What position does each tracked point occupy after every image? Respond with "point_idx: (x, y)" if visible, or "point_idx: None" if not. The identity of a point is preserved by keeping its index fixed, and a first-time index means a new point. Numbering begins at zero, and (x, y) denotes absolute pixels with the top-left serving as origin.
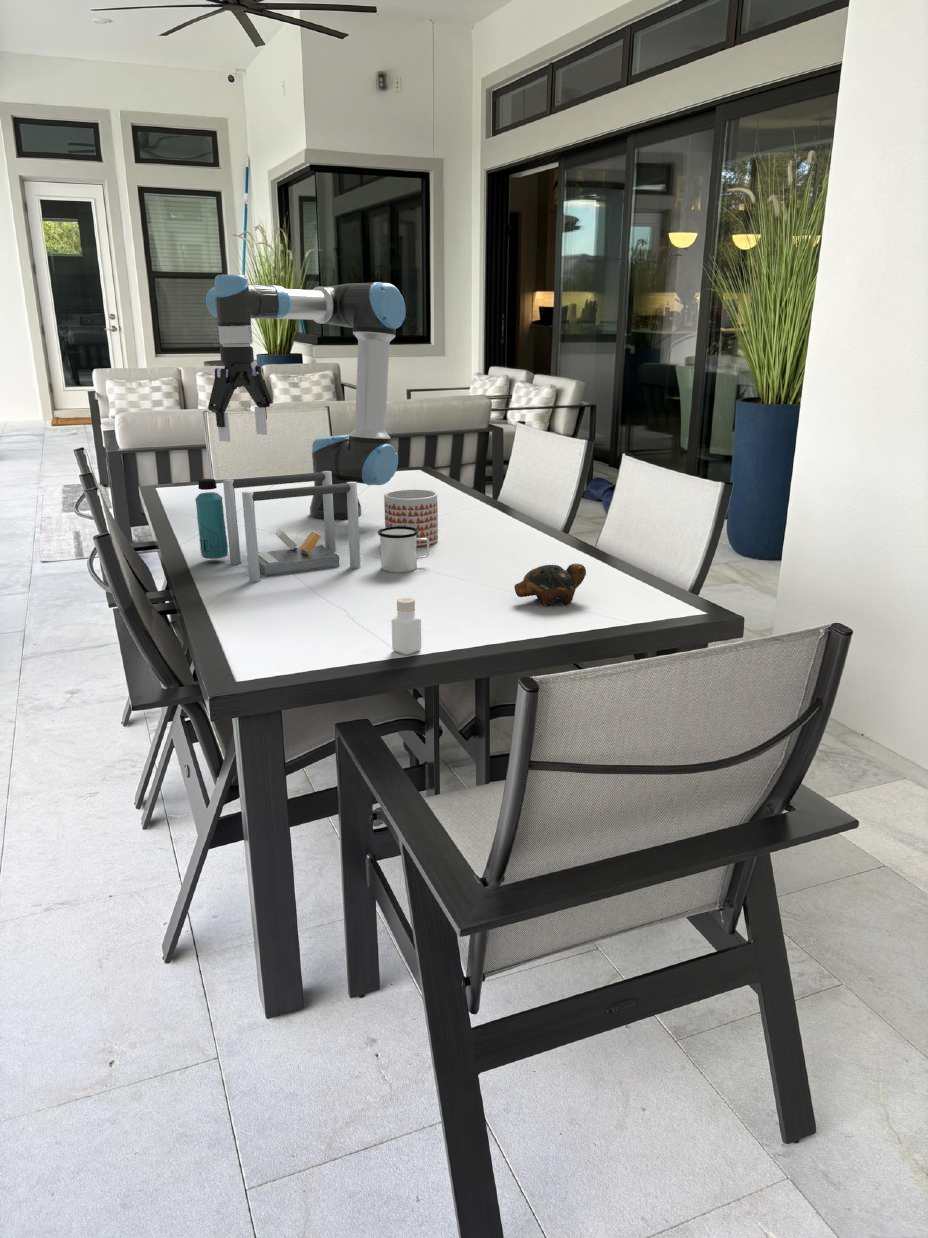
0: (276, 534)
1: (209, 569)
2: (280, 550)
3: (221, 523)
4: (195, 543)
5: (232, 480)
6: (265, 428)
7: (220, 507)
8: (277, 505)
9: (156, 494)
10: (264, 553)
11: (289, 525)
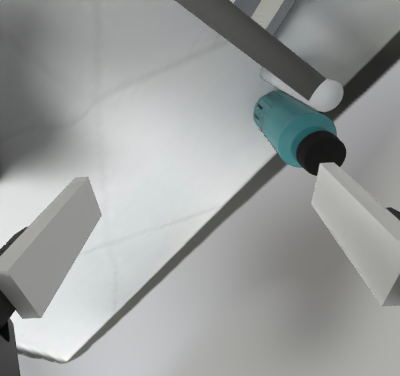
0: None
1: None
2: None
3: (291, 102)
4: (205, 198)
5: (328, 82)
6: (71, 191)
7: (301, 110)
8: None
9: (81, 348)
10: (262, 11)
11: (56, 164)
